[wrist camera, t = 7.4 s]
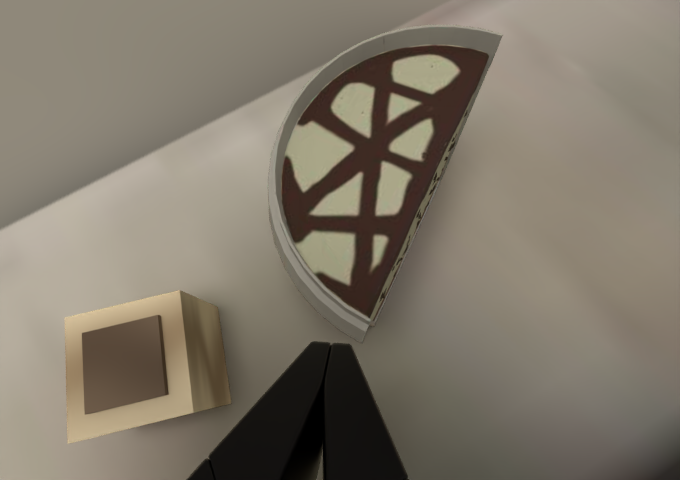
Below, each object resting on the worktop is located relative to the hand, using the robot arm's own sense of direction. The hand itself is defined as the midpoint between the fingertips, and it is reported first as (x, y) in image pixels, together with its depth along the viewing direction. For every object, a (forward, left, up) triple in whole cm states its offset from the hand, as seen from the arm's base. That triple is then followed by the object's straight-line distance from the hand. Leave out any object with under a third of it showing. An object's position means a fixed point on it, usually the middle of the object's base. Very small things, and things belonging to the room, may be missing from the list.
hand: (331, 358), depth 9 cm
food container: (+6, -4, -13) cm, 15 cm away
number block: (+4, +8, -13) cm, 16 cm away
